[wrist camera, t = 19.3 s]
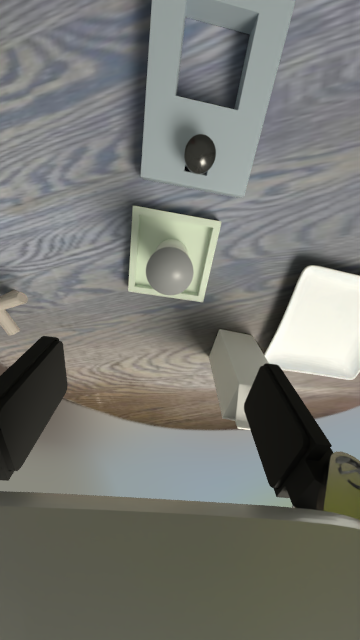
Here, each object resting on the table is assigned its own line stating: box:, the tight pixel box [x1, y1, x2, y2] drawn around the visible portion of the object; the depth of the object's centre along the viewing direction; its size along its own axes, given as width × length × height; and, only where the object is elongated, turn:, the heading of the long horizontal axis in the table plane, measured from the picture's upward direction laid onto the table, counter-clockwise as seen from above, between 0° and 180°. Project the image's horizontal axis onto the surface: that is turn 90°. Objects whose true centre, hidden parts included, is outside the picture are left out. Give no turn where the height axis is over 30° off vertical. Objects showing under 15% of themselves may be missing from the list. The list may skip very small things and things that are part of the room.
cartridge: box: [146, 239, 194, 295], centre depth 30 cm, size 6×6×10 cm
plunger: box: [184, 134, 216, 174], centre depth 27 cm, size 4×4×6 cm
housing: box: [141, 0, 296, 198], centre depth 24 cm, size 14×24×3 cm, turn 171°
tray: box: [128, 206, 221, 302], centre depth 34 cm, size 13×13×2 cm
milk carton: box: [209, 329, 269, 430], centre depth 35 cm, size 7×7×19 cm
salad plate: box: [264, 265, 360, 380], centre depth 41 cm, size 21×21×3 cm
